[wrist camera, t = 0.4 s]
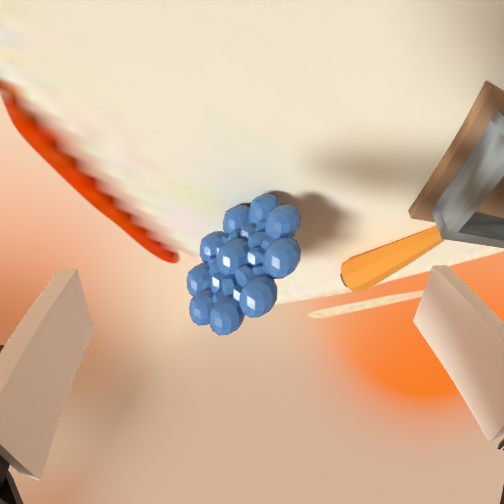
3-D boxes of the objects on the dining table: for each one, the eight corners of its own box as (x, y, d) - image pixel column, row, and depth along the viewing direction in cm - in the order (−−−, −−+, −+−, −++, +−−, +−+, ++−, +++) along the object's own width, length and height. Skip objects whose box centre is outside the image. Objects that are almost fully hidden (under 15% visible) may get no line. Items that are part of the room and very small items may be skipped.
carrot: (342, 264, 39) (355, 296, 38) (331, 261, 36) (345, 297, 34) (475, 195, 30) (491, 228, 29) (479, 184, 26) (498, 220, 25)
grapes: (225, 249, 35) (218, 355, 28) (180, 218, 30) (161, 335, 24) (318, 207, 29) (335, 330, 22) (279, 162, 24) (287, 300, 18)
